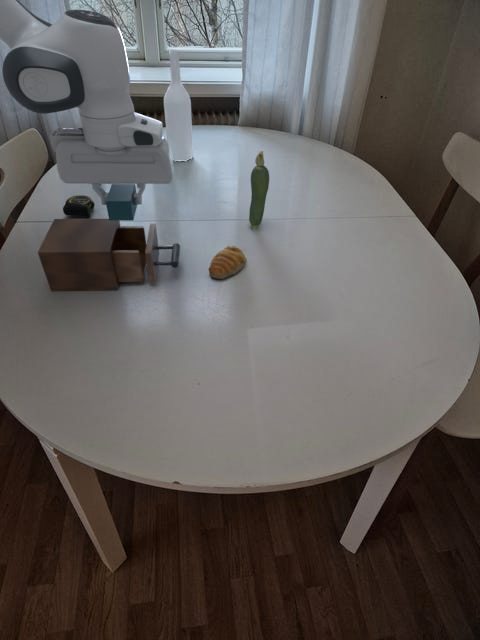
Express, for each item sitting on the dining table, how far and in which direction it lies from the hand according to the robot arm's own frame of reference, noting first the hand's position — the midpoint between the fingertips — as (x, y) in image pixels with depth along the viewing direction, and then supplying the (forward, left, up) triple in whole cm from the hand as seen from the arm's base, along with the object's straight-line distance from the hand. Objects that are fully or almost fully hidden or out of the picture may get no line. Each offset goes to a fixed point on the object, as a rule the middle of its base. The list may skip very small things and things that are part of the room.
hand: (122, 203), depth 82 cm
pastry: (+20, +2, -17) cm, 27 cm away
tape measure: (-17, +26, -17) cm, 35 cm away
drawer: (+1, +1, -16) cm, 16 cm away
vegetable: (+28, +19, -17) cm, 38 cm away
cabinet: (-10, +1, -17) cm, 20 cm away
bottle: (+7, +63, -17) cm, 66 cm away
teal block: (0, 0, -2) cm, 2 cm away
